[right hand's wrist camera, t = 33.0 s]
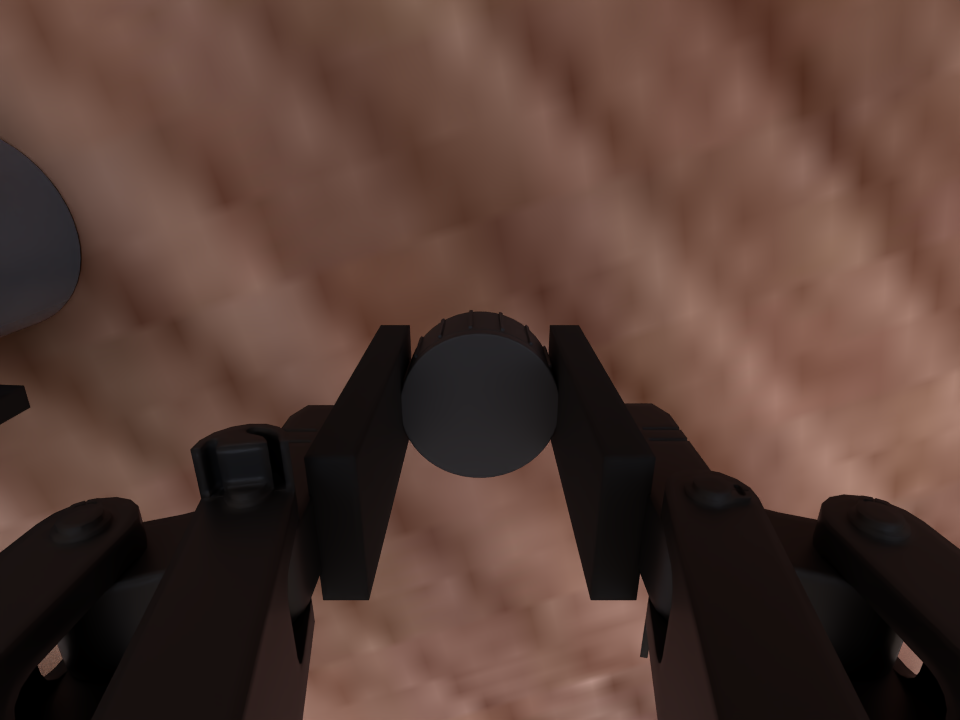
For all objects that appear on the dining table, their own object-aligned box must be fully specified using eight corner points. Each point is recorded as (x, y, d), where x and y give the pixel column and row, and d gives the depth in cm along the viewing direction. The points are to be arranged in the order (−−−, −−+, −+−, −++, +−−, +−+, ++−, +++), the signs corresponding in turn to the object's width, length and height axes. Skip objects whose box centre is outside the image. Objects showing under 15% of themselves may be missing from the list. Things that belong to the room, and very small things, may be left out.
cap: (567, 419, 15) (578, 455, 13) (436, 456, 15) (430, 496, 13) (528, 290, 13) (536, 310, 12) (387, 334, 14) (373, 360, 12)
